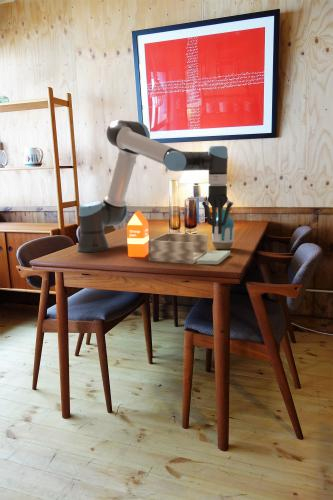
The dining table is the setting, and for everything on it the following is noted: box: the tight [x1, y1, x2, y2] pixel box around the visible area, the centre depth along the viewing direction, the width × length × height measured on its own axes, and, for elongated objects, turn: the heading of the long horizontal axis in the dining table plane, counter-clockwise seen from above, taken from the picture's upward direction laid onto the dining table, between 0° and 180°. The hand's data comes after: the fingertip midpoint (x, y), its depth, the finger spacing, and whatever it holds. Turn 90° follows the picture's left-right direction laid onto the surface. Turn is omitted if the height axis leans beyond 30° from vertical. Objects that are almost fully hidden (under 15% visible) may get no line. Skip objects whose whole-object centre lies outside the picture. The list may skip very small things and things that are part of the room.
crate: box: [148, 232, 208, 265], centre depth 170 cm, size 20×20×9 cm
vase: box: [211, 208, 235, 251], centre depth 183 cm, size 11×11×19 cm
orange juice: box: [126, 210, 150, 258], centre depth 177 cm, size 8×9×20 cm
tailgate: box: [196, 250, 231, 265], centre depth 164 cm, size 2×19×9 cm
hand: (216, 241), depth 163 cm, fingers closed
